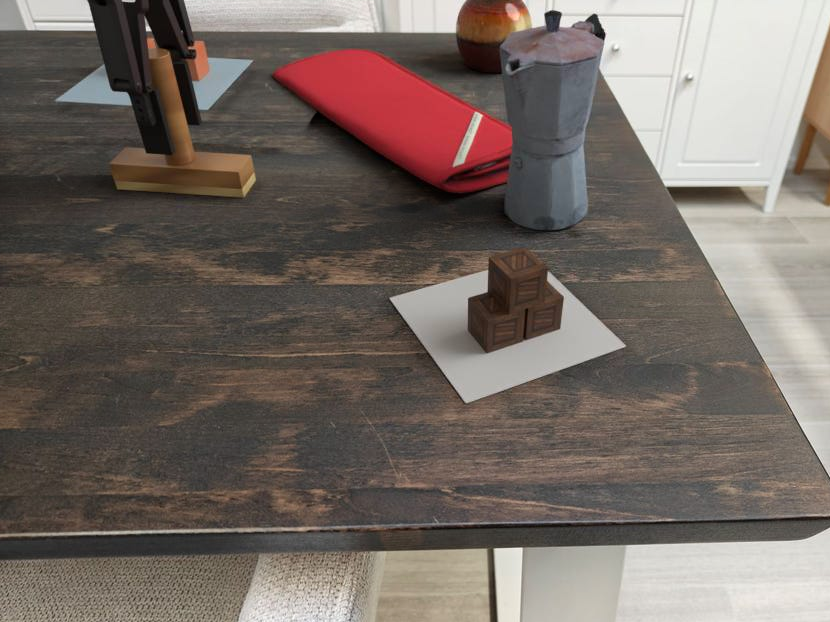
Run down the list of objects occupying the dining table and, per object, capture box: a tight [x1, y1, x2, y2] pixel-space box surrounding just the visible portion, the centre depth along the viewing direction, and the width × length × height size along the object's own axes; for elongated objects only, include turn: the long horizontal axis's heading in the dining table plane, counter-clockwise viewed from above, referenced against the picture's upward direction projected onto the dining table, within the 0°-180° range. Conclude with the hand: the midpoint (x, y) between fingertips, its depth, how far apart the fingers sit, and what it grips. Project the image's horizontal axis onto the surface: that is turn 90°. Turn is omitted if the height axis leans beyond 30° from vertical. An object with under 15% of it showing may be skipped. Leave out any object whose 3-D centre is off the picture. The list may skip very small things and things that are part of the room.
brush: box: [108, 47, 257, 199], centre depth 76 cm, size 14×4×14 cm, turn 85°
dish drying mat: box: [271, 48, 513, 194], centre depth 93 cm, size 16×41×4 cm, turn 36°
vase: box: [455, 0, 533, 74], centre depth 106 cm, size 11×11×15 cm
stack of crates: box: [388, 246, 627, 404], centre depth 62 cm, size 15×15×7 cm
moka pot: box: [500, 9, 607, 231], centre depth 72 cm, size 10×15×20 cm, turn 145°
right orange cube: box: [186, 40, 210, 81], centre depth 101 cm, size 4×4×4 cm
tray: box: [54, 57, 254, 111], centre depth 101 cm, size 20×18×1 cm
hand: (175, 137), depth 77 cm, fingers open, 6 cm apart
